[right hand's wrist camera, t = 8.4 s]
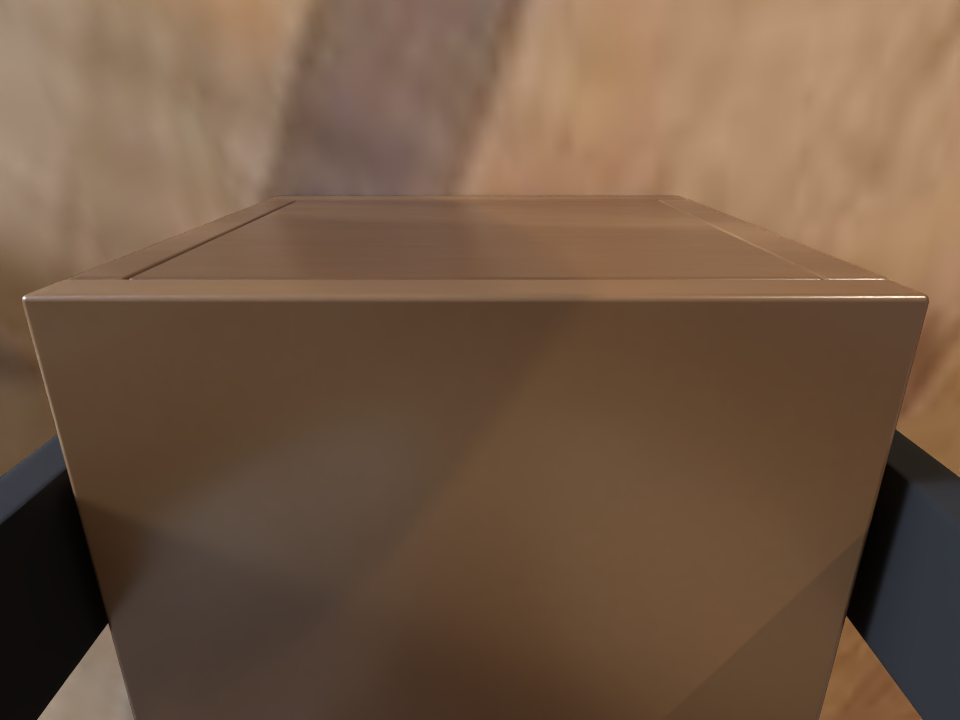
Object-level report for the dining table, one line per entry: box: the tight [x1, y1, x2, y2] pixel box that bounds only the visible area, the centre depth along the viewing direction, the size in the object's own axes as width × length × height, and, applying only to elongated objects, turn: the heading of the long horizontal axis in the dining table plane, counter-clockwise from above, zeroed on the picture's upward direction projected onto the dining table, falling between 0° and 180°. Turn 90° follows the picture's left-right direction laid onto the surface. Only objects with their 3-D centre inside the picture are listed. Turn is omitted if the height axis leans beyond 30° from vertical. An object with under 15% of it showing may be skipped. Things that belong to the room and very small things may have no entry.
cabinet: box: [22, 196, 929, 720], centre depth 15 cm, size 16×11×10 cm
